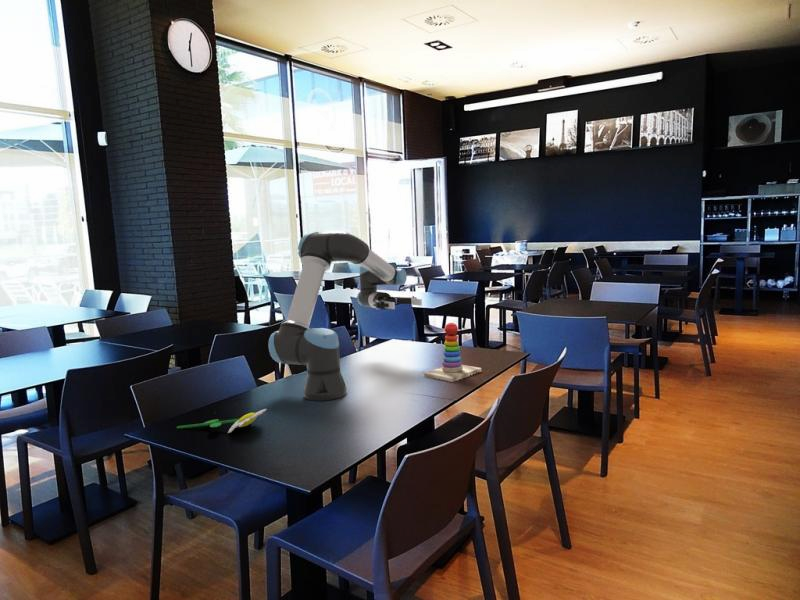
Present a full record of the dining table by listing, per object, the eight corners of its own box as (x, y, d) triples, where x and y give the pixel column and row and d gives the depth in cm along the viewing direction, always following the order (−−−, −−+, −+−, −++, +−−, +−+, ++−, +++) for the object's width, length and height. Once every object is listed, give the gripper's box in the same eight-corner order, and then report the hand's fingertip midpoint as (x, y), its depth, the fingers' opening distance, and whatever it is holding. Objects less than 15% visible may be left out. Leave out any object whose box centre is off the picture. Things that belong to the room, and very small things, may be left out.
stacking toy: (463, 372, 212) (461, 324, 209) (442, 373, 212) (440, 325, 209) (461, 367, 219) (459, 320, 217) (441, 368, 220) (439, 321, 217)
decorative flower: (166, 443, 164) (257, 433, 157) (163, 427, 164) (254, 416, 157) (191, 430, 176) (276, 420, 169) (188, 415, 176) (274, 404, 169)
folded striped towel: (452, 382, 205) (451, 378, 204) (424, 376, 214) (424, 372, 214) (481, 371, 217) (481, 368, 217) (453, 366, 227) (453, 363, 227)
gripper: (403, 305, 252) (432, 309, 234) (356, 312, 238) (382, 316, 221) (403, 289, 251) (431, 292, 234) (355, 294, 237) (381, 298, 220)
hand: (407, 304), depth 227 cm, fingers open, 13 cm apart
